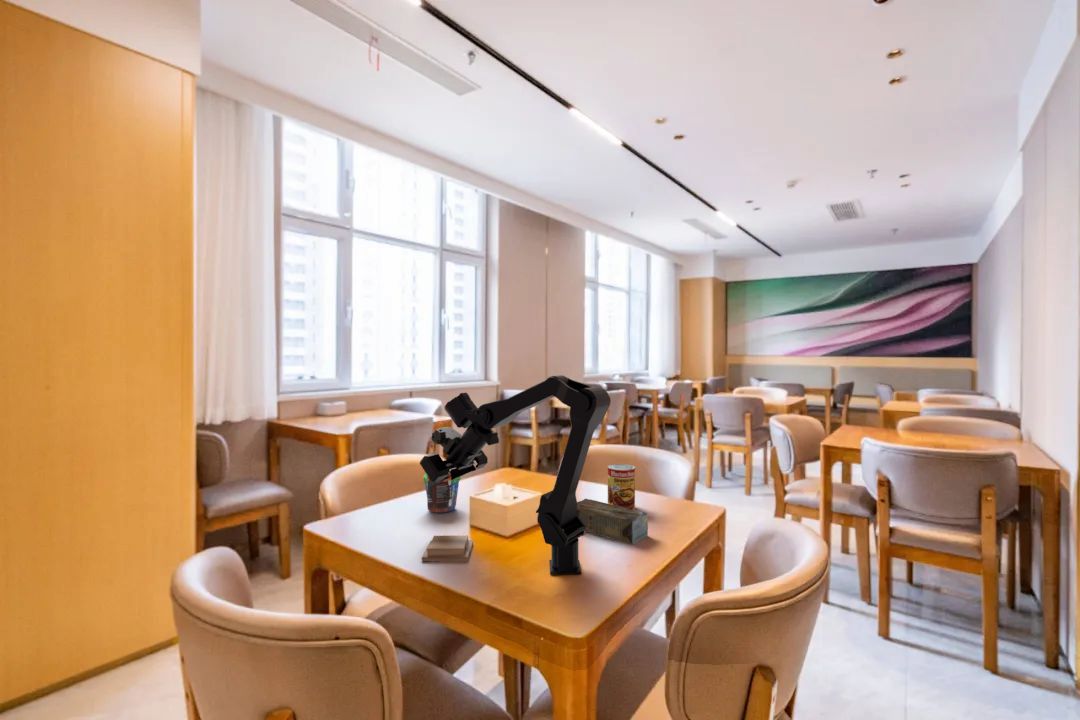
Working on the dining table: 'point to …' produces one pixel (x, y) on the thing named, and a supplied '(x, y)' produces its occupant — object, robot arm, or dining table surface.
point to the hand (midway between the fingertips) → (438, 482)
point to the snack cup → (453, 490)
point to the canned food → (621, 485)
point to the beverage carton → (613, 521)
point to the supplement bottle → (439, 496)
